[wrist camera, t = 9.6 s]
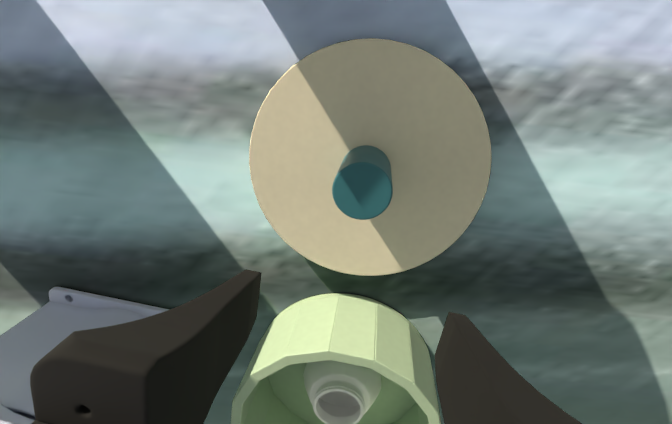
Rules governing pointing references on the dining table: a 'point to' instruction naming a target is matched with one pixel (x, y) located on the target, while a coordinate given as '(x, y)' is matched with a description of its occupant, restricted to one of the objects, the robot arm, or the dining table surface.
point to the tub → (342, 346)
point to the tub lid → (370, 157)
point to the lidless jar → (340, 390)
